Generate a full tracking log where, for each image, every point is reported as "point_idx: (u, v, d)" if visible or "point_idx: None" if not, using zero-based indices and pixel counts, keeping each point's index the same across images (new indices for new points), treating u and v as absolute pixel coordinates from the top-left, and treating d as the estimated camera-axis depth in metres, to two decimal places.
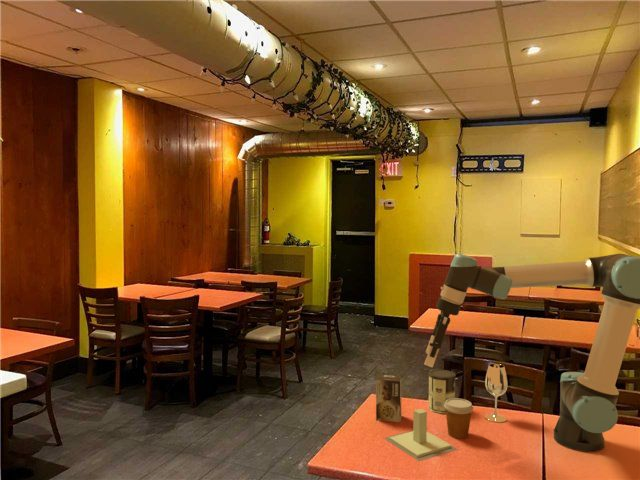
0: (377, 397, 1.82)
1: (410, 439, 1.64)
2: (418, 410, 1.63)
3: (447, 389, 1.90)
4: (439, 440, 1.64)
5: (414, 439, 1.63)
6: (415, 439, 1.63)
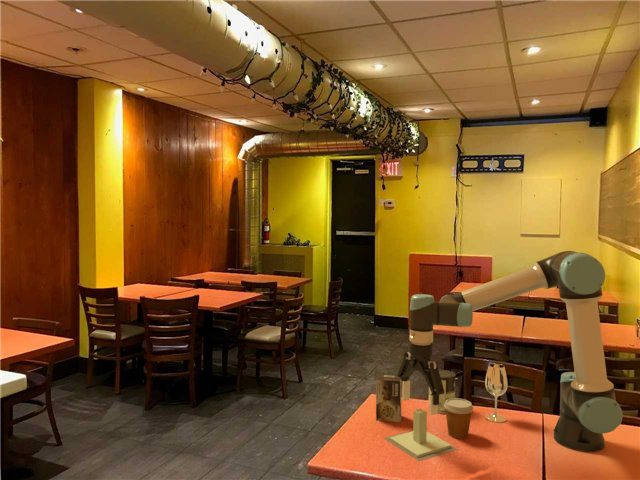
0: (377, 397, 1.82)
1: (410, 439, 1.64)
2: (418, 410, 1.63)
3: (447, 389, 1.90)
4: (439, 440, 1.64)
5: (414, 439, 1.63)
6: (415, 439, 1.63)
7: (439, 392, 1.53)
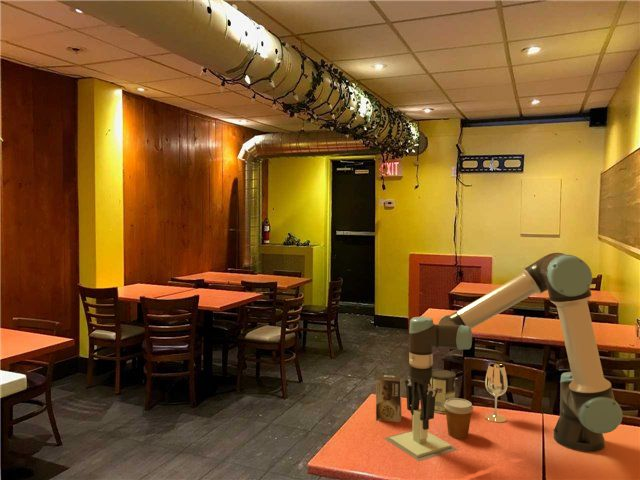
0: (377, 397, 1.82)
1: (410, 439, 1.64)
2: (418, 410, 1.63)
3: (447, 389, 1.90)
4: (439, 440, 1.64)
5: (414, 439, 1.63)
6: (415, 439, 1.63)
7: (428, 417, 1.58)
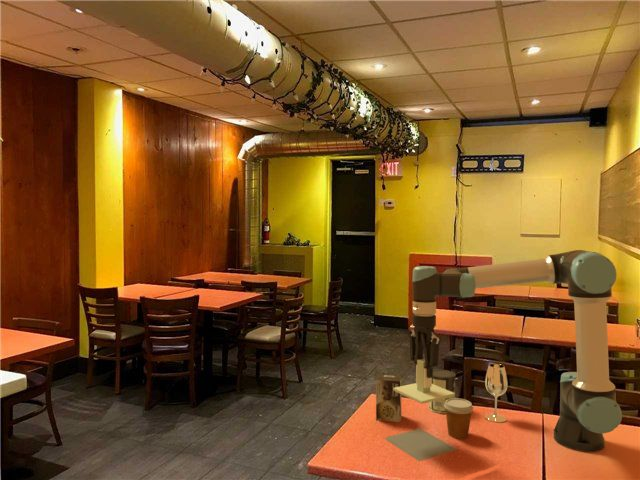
0: (377, 397, 1.82)
1: (414, 389, 1.64)
2: (422, 359, 1.63)
3: (447, 389, 1.90)
4: (443, 390, 1.63)
5: (418, 388, 1.63)
6: (419, 388, 1.62)
7: (432, 365, 1.58)
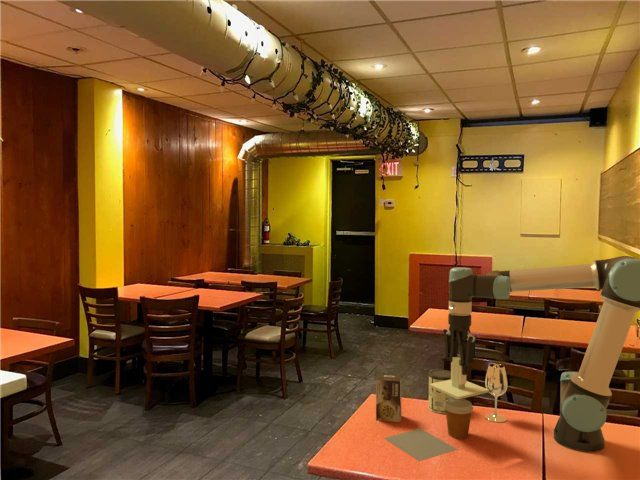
0: (377, 397, 1.82)
1: (449, 385, 1.71)
2: (457, 357, 1.69)
3: None
4: (477, 386, 1.70)
5: (453, 385, 1.69)
6: (454, 385, 1.69)
7: (468, 362, 1.64)
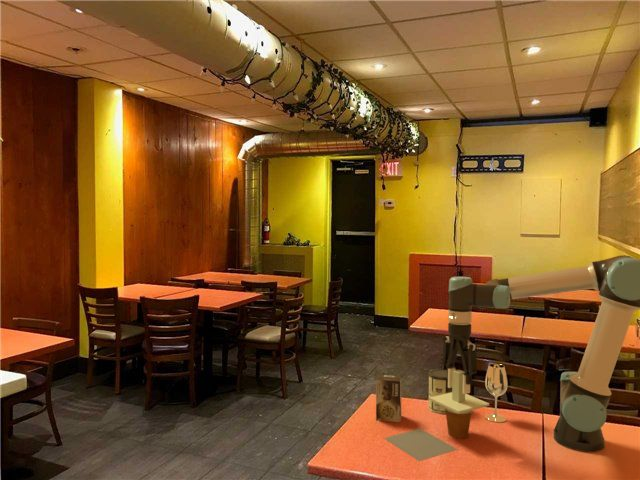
0: (377, 397, 1.82)
1: (449, 399, 1.71)
2: (457, 371, 1.70)
3: (447, 389, 1.90)
4: (477, 400, 1.70)
5: (453, 398, 1.70)
6: (454, 398, 1.69)
7: (472, 372, 1.63)
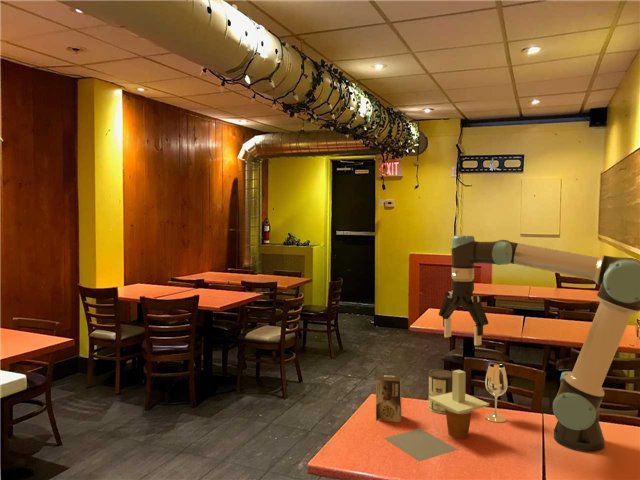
0: (377, 397, 1.82)
1: (449, 399, 1.71)
2: (457, 371, 1.70)
3: (447, 389, 1.90)
4: (477, 400, 1.70)
5: (453, 398, 1.70)
6: (454, 398, 1.69)
7: (484, 322, 1.64)
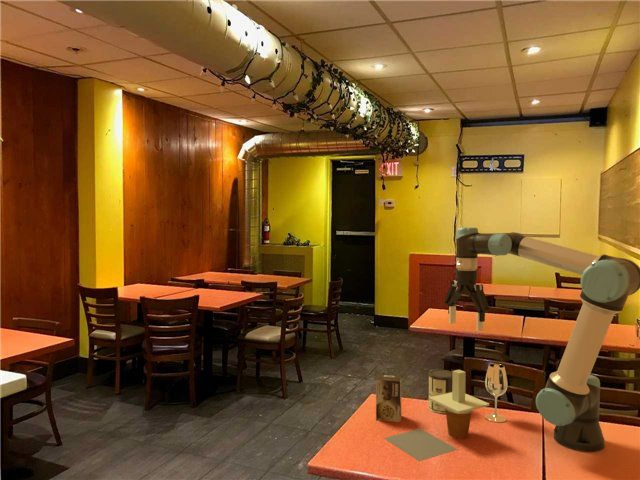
0: (377, 397, 1.82)
1: (449, 399, 1.71)
2: (457, 371, 1.70)
3: (447, 389, 1.90)
4: (477, 400, 1.70)
5: (453, 398, 1.70)
6: (454, 398, 1.69)
7: (485, 309, 1.74)
